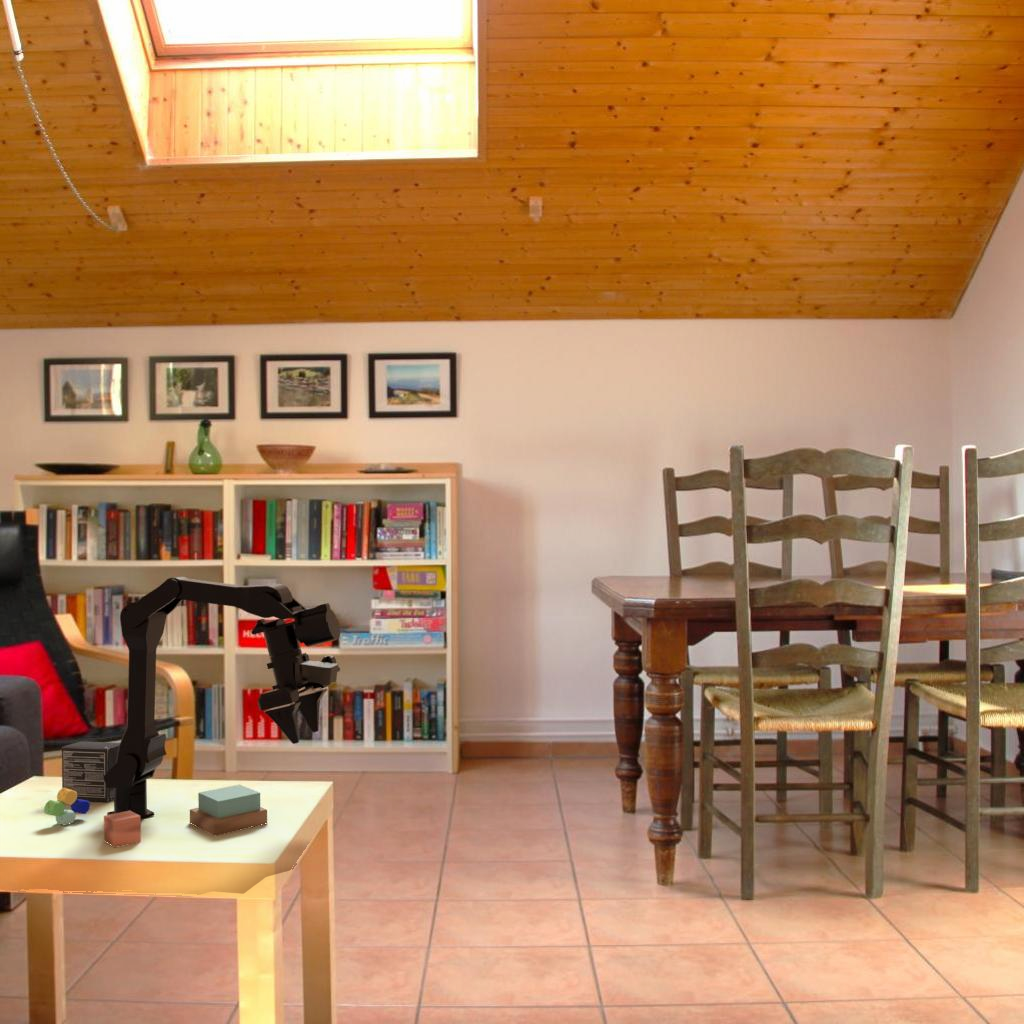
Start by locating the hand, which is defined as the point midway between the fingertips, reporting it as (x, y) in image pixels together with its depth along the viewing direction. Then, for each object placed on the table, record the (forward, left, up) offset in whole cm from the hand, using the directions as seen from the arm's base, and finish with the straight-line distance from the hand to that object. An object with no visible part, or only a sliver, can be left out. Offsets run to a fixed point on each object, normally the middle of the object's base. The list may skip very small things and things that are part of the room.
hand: (306, 737), depth 187 cm
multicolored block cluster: (-31, -31, -16) cm, 47 cm away
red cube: (-13, -28, -15) cm, 35 cm away
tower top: (-10, -10, -13) cm, 19 cm away
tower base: (-10, -10, -16) cm, 21 cm away
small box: (-45, -21, -16) cm, 52 cm away
